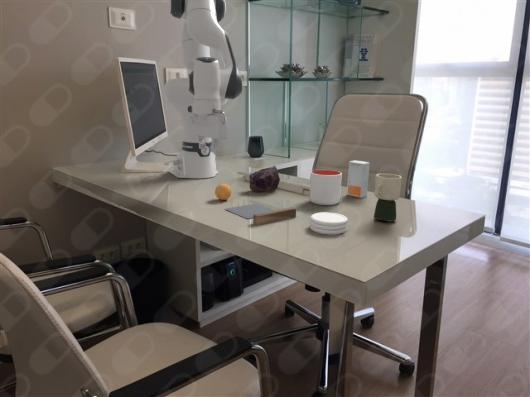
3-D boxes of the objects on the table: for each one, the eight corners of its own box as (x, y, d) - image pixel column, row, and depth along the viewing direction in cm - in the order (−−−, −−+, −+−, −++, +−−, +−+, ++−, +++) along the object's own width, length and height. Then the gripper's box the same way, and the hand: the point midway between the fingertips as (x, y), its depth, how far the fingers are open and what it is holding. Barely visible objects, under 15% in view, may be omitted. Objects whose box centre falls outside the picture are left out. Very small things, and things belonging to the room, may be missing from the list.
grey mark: (224, 209, 134) (224, 208, 134) (256, 203, 141) (256, 203, 141) (247, 219, 125) (247, 218, 125) (280, 212, 132) (280, 211, 132)
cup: (322, 196, 152) (323, 168, 149) (346, 202, 145) (348, 172, 142) (303, 201, 145) (304, 172, 142) (327, 208, 138) (329, 176, 135)
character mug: (384, 213, 133) (388, 171, 129) (405, 219, 128) (410, 175, 124) (363, 220, 126) (366, 176, 122) (384, 226, 120) (389, 180, 117)
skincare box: (346, 195, 155) (348, 161, 152) (352, 193, 158) (354, 160, 155) (361, 198, 151) (363, 163, 148) (367, 196, 154) (370, 162, 151)
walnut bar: (253, 223, 121) (253, 214, 121) (291, 215, 130) (291, 206, 129) (257, 225, 120) (257, 216, 119) (295, 216, 128) (296, 208, 127)
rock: (247, 193, 160) (263, 198, 152) (244, 170, 157) (260, 174, 149) (272, 184, 166) (289, 189, 158) (270, 162, 163) (287, 166, 156)
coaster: (322, 221, 125) (323, 209, 124) (353, 229, 119) (354, 216, 118) (302, 229, 118) (302, 217, 117) (334, 238, 111) (335, 225, 111)
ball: (211, 199, 146) (211, 183, 144) (225, 197, 149) (225, 181, 147) (220, 202, 141) (220, 186, 140) (234, 200, 145) (234, 184, 143)
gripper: (233, 110, 139) (233, 153, 143) (200, 106, 155) (200, 146, 158) (216, 110, 135) (216, 155, 139) (184, 107, 151) (185, 147, 154)
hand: (207, 150), depth 148 cm, fingers open, 6 cm apart
